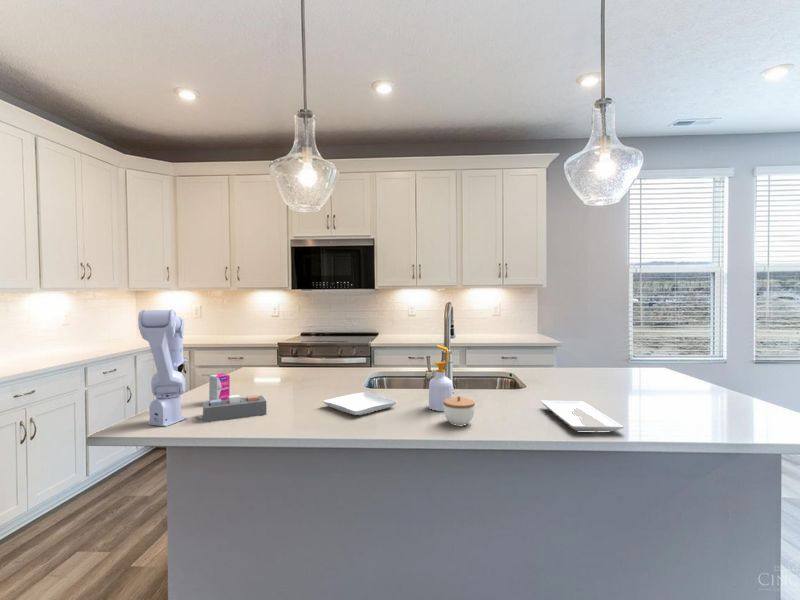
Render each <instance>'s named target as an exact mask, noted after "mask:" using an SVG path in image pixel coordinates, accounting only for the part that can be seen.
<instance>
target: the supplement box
mask: <svg viewBox="0 0 800 600" xmlns="http://www.w3.org/2000/svg"><path fill="white" fill-rule="evenodd" d="M230 377H231V376H230V375H229V374H227V373H216V374H210V375H209V380H208V381H209V391H208V392H209V393H208V394H209V396H208V398H209V401H210V400H217V399H221V400H227V399H229V396H231V395H230V393H231V392H230V388H231V387H230V386H231V384H230V382H231V380H230ZM209 401H208V402H209Z"/></svg>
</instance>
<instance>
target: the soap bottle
mask: <svg viewBox="0 0 800 600" xmlns="http://www.w3.org/2000/svg"><path fill="white" fill-rule="evenodd" d="M435 347H436V348H439V349H442V350H443V351H445V352H446V361H435V362H434V365H436V366H437V368H438V369H436V373H435V374H436V375H435V376H434V377H432V378H431V379H430V380H429V383H428V409H430V410H431V409H432V410H431V411H434V410H436V412H444V404H443V401H444V400H445V399H447V398H453V382H452V380H451V379H450V378H449V377H447V376H446V370H445V369H444V367H445V365H447V364H448V363H449V361H450V359H449V357H450V356H449V353H450V352H449V351H450V350H449V348H448V347H446V346H443V345H440V344H436V346H435Z"/></svg>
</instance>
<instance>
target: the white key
mask: <svg viewBox="0 0 800 600" xmlns="http://www.w3.org/2000/svg"><path fill="white" fill-rule="evenodd" d="M240 398H241V395H240V394H233V395H230V396H229V404H232V403H240Z"/></svg>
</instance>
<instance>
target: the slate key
mask: <svg viewBox="0 0 800 600" xmlns="http://www.w3.org/2000/svg"><path fill="white" fill-rule="evenodd" d="M214 405H222V401H221V399H217V400H210V406H214Z"/></svg>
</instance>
